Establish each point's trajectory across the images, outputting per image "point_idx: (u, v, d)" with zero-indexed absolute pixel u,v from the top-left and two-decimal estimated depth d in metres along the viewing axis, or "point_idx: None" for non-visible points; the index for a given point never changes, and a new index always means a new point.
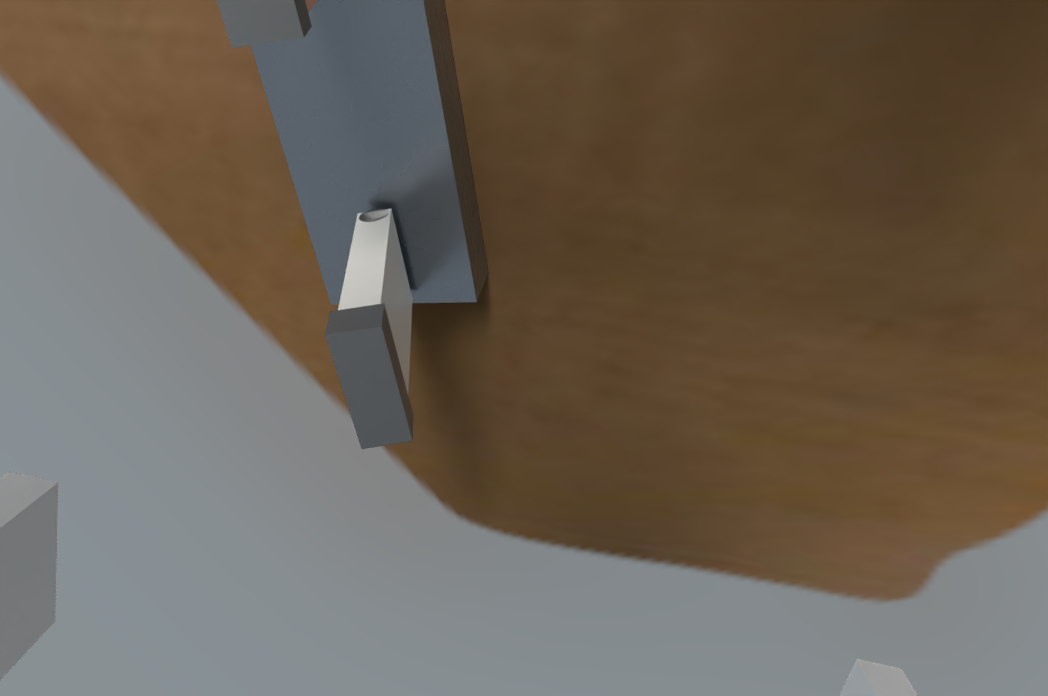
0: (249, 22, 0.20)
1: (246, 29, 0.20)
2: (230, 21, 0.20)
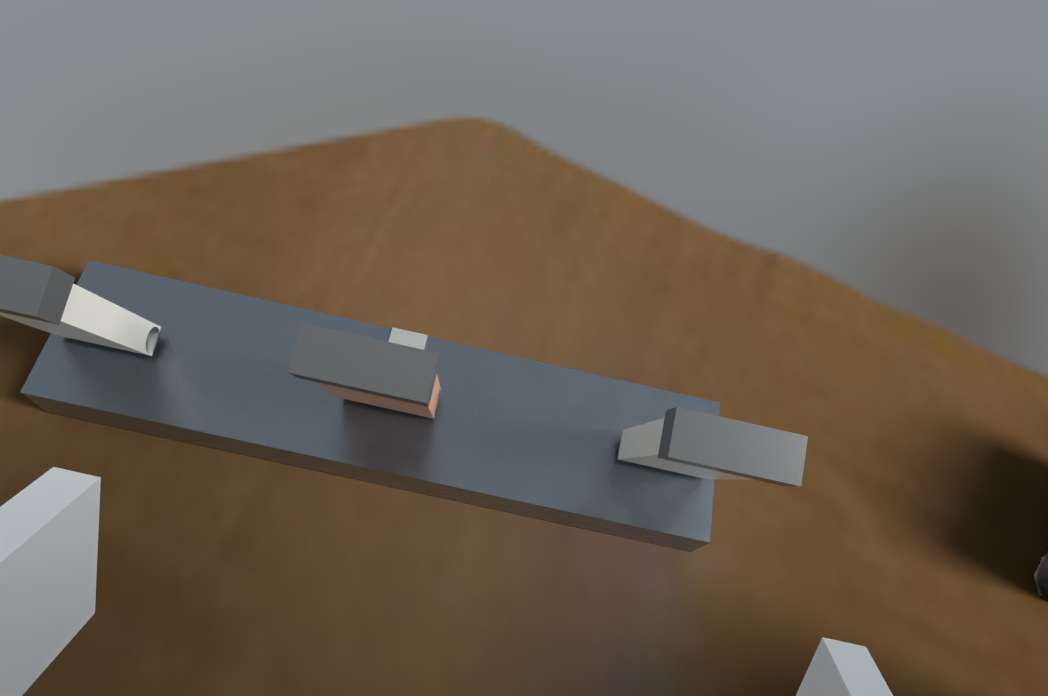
0: (312, 342, 0.28)
1: (308, 338, 0.28)
2: (317, 331, 0.28)
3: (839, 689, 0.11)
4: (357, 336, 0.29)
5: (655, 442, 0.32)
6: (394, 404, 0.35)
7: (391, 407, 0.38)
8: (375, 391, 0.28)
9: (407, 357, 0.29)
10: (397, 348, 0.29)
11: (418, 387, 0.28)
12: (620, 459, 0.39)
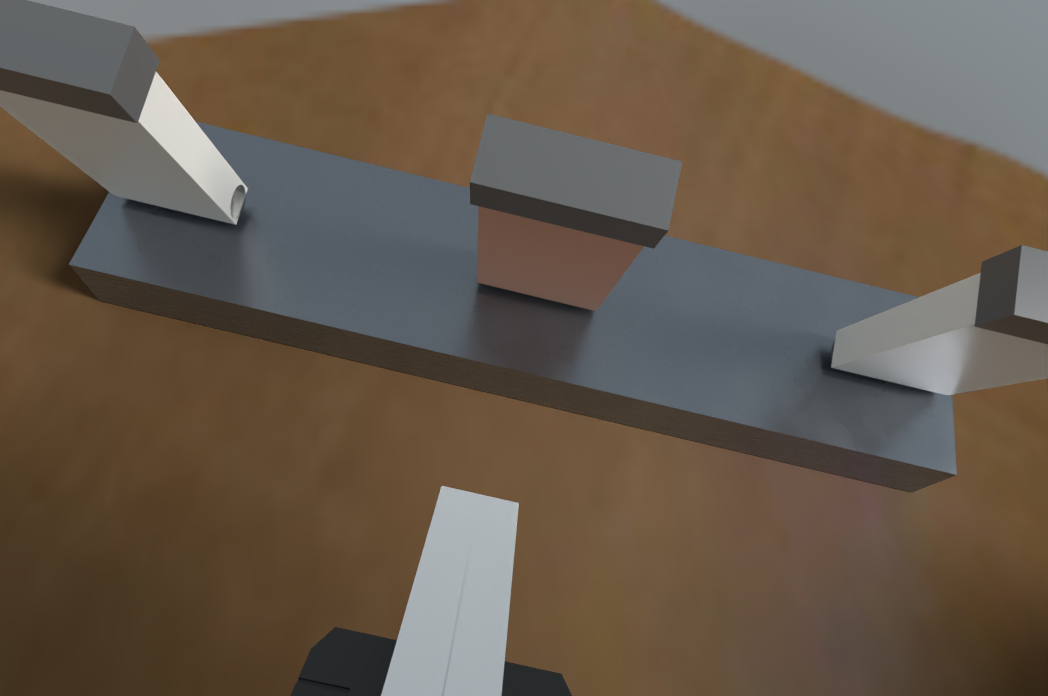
0: (502, 141, 0.20)
1: (497, 135, 0.20)
2: (510, 126, 0.20)
3: (472, 530, 0.13)
4: (566, 135, 0.20)
5: (949, 315, 0.23)
6: (565, 276, 0.26)
7: (547, 290, 0.29)
8: (593, 213, 0.20)
9: (638, 166, 0.20)
10: (624, 153, 0.20)
11: (656, 208, 0.20)
12: (837, 366, 0.30)
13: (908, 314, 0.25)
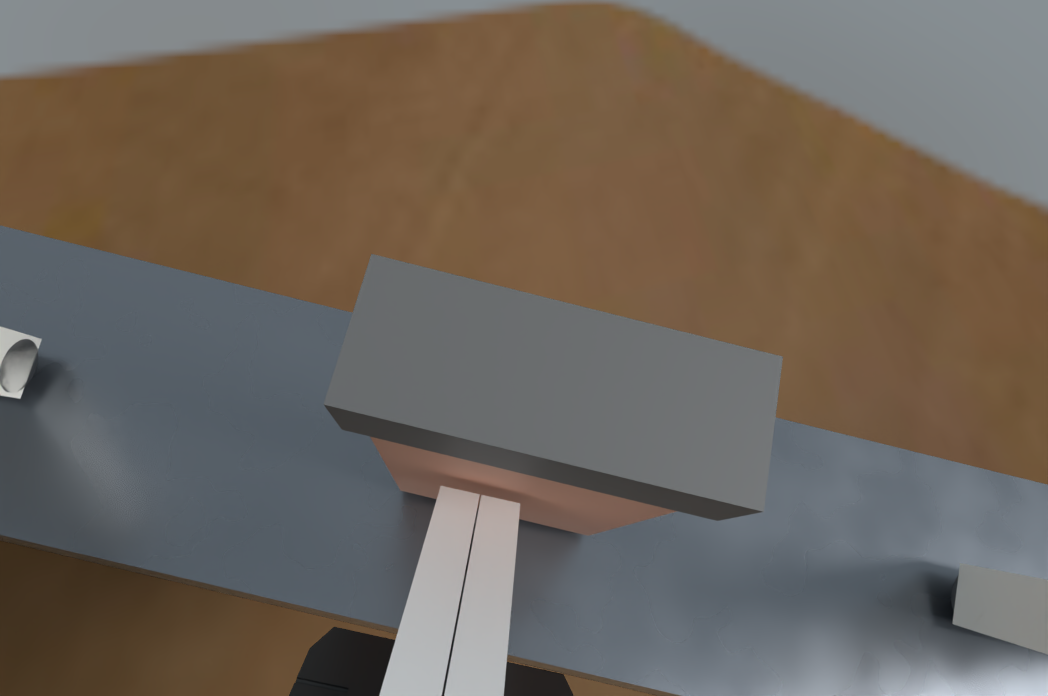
0: (401, 313, 0.09)
1: (391, 300, 0.09)
2: (418, 281, 0.09)
3: (474, 530, 0.13)
4: (538, 300, 0.09)
5: None
6: (538, 507, 0.16)
7: None
8: (598, 471, 0.09)
9: (692, 367, 0.09)
10: (660, 339, 0.09)
11: (734, 460, 0.09)
12: (965, 627, 0.19)
13: None
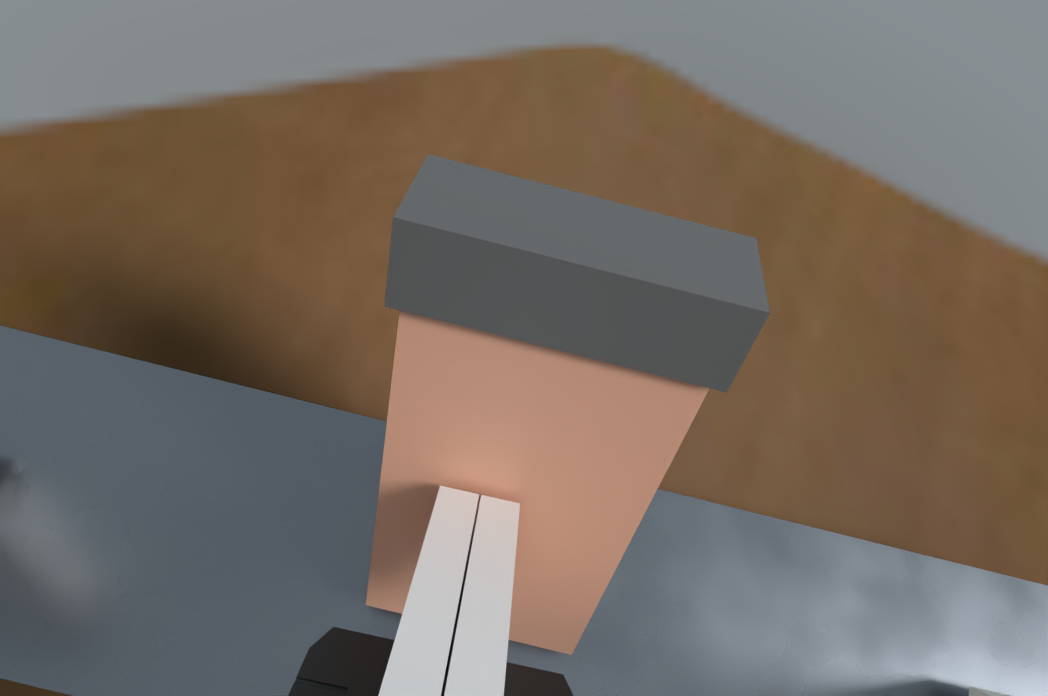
0: (454, 182, 0.11)
1: (446, 176, 0.11)
2: (467, 170, 0.12)
3: (474, 531, 0.13)
4: (561, 191, 0.12)
5: None
6: (531, 547, 0.15)
7: None
8: (627, 282, 0.10)
9: (688, 234, 0.11)
10: (660, 218, 0.12)
11: (736, 282, 0.11)
12: None
13: None
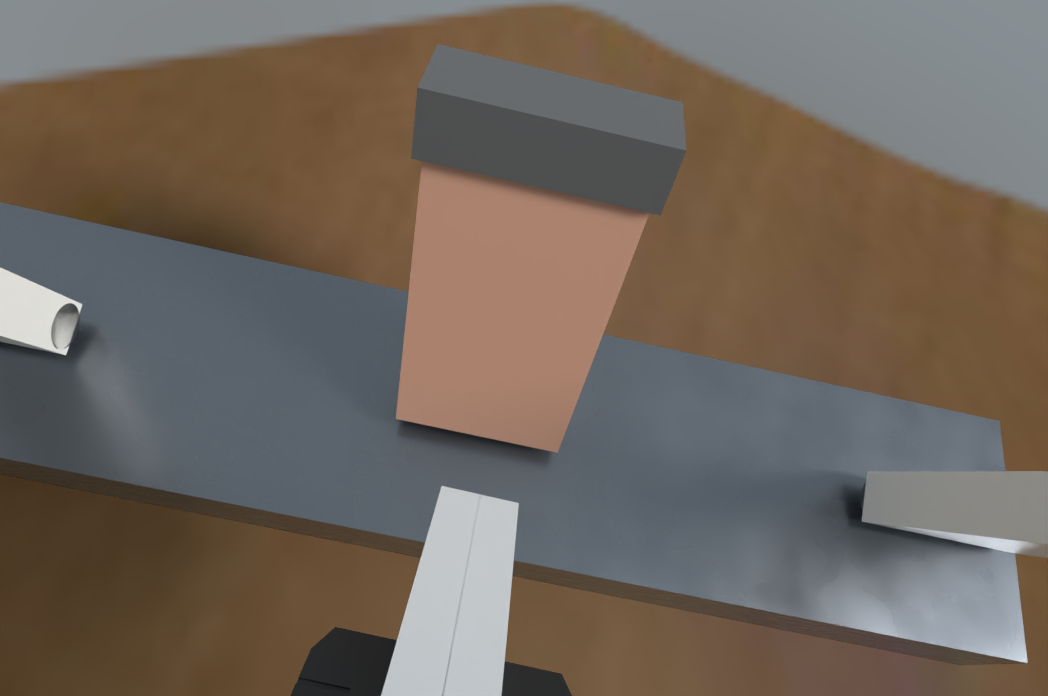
0: (458, 64, 0.15)
1: (452, 59, 0.15)
2: (467, 55, 0.16)
3: (472, 530, 0.13)
4: (537, 70, 0.16)
5: None
6: (523, 357, 0.20)
7: (494, 411, 0.21)
8: (585, 131, 0.15)
9: (631, 99, 0.16)
10: (611, 88, 0.16)
11: (664, 131, 0.15)
12: (870, 522, 0.23)
13: (980, 490, 0.18)
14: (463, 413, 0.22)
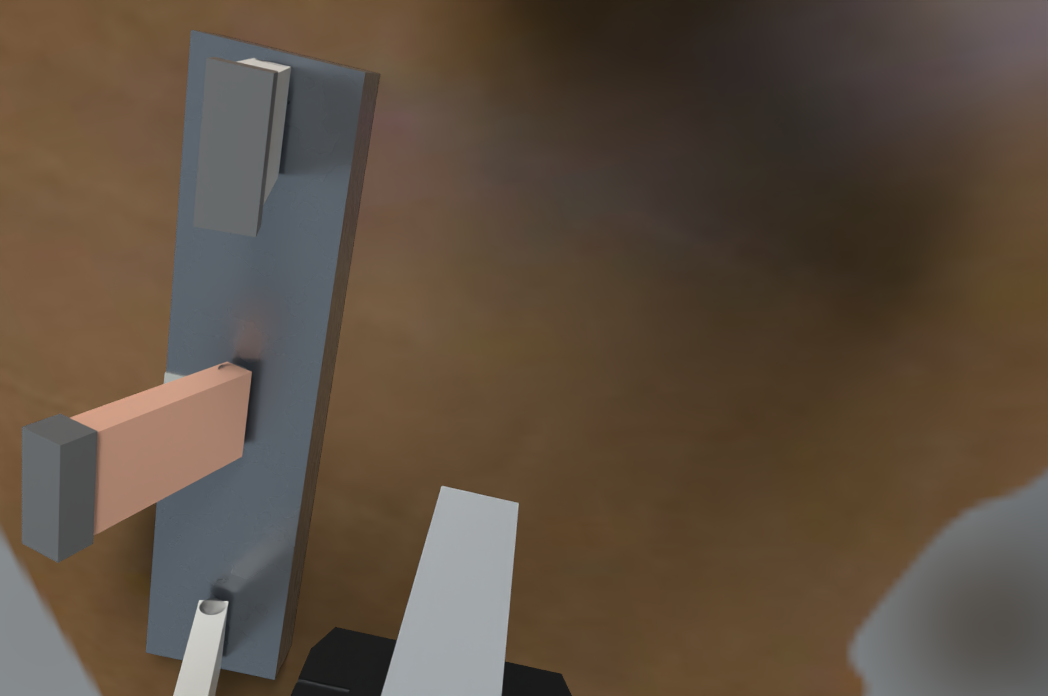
0: (34, 537, 0.30)
1: (31, 539, 0.30)
2: (25, 531, 0.30)
3: (472, 530, 0.13)
4: (23, 497, 0.29)
5: None
6: (193, 427, 0.35)
7: (229, 417, 0.37)
8: (61, 489, 0.29)
9: (30, 456, 0.29)
10: (24, 464, 0.29)
11: (49, 451, 0.28)
12: (277, 176, 0.34)
13: None
14: (233, 430, 0.38)
